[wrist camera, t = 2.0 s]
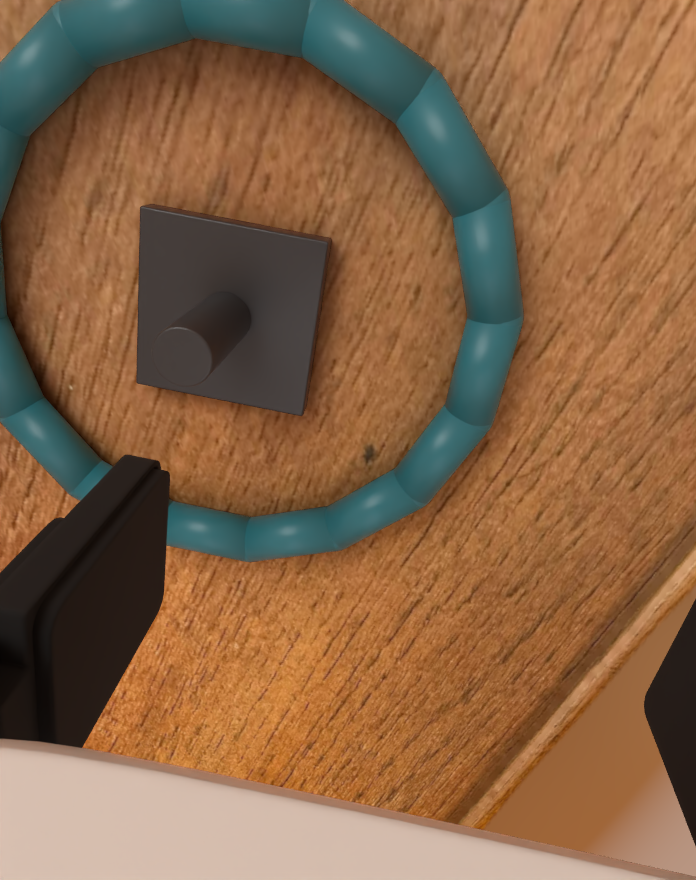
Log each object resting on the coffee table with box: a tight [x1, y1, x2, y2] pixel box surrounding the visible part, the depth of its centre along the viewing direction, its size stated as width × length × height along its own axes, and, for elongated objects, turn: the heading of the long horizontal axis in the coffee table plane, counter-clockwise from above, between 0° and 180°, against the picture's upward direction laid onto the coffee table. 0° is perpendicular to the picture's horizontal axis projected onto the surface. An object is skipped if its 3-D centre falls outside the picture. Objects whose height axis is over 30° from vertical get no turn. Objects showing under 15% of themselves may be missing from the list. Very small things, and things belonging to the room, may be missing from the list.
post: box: [137, 204, 332, 416], centre depth 23 cm, size 7×7×6 cm
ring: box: [0, 0, 524, 562], centre depth 25 cm, size 22×22×2 cm
